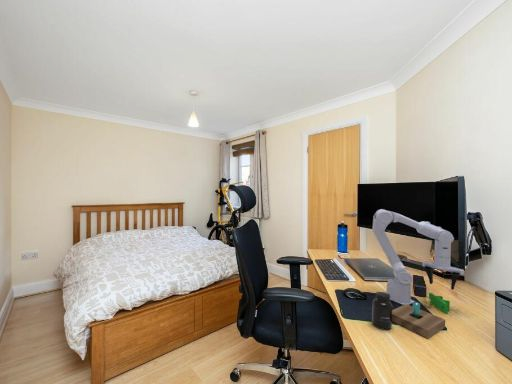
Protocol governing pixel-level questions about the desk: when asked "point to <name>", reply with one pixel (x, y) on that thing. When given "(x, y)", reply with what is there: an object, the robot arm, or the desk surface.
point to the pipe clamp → (440, 303)
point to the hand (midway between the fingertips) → (441, 286)
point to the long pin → (416, 310)
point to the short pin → (427, 302)
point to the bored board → (418, 321)
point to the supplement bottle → (382, 311)
